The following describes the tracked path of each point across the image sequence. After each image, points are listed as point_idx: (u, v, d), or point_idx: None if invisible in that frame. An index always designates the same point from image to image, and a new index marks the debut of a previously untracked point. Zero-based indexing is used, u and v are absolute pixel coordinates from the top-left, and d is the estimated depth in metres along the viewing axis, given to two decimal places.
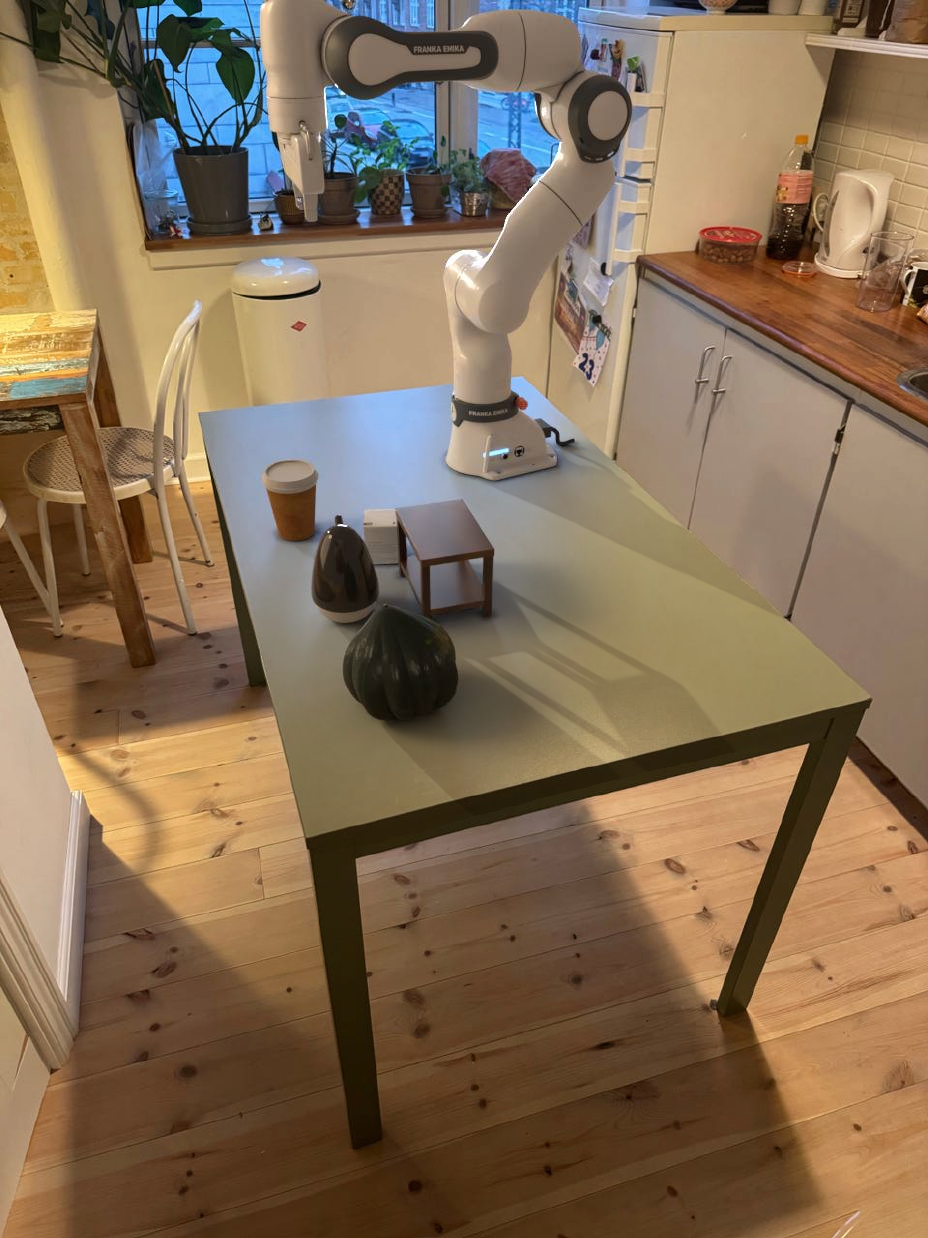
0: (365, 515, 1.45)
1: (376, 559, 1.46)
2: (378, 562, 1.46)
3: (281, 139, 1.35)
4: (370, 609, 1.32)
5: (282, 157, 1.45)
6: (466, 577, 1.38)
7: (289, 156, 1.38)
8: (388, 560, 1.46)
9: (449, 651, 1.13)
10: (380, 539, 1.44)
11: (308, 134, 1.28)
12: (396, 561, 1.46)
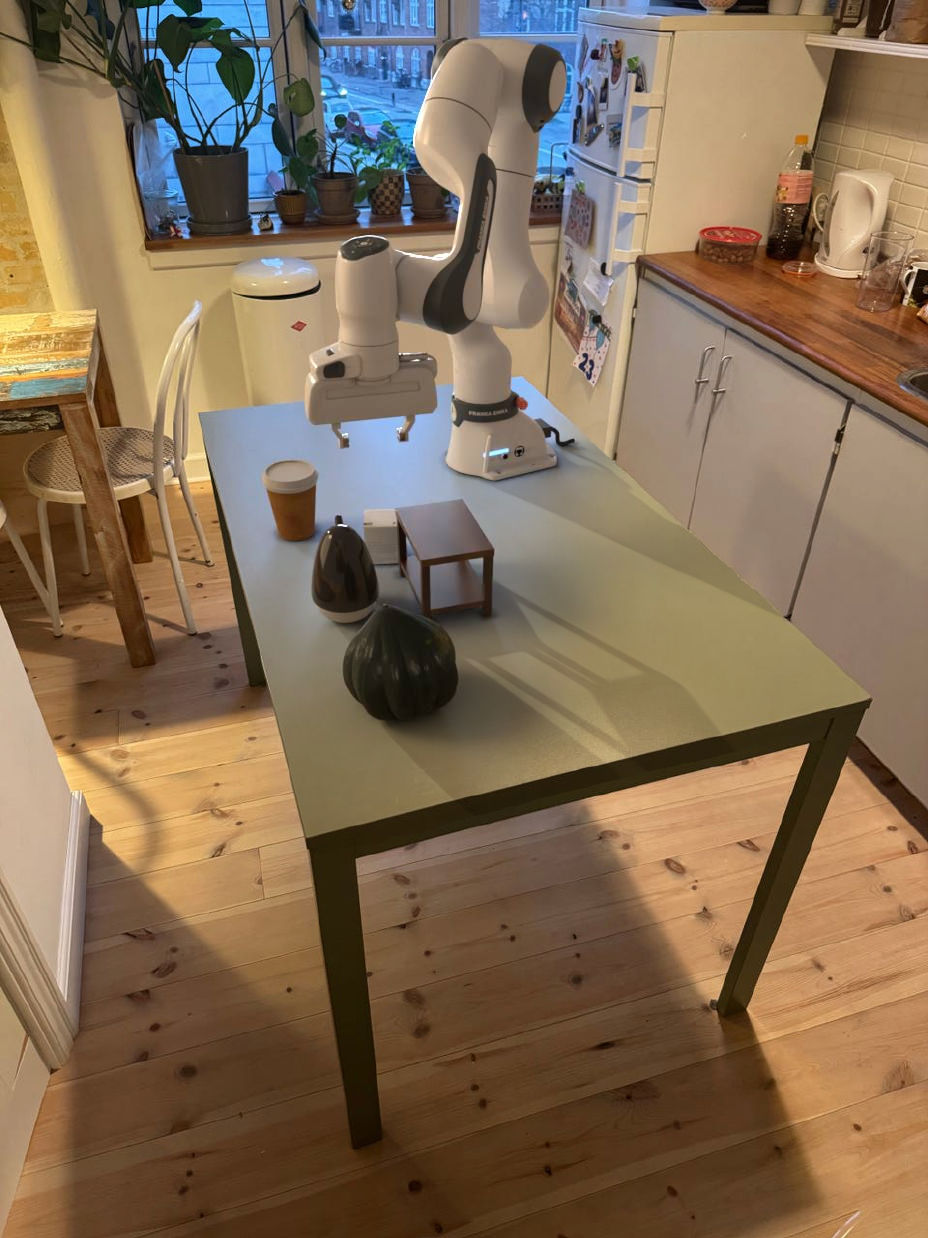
0: (365, 515, 1.45)
1: (376, 559, 1.46)
2: (378, 562, 1.46)
3: (381, 381, 1.30)
4: (370, 609, 1.32)
5: (316, 410, 1.30)
6: (466, 577, 1.38)
7: (368, 396, 1.32)
8: (388, 560, 1.46)
9: (449, 651, 1.13)
10: (380, 539, 1.44)
11: None
12: (396, 561, 1.46)
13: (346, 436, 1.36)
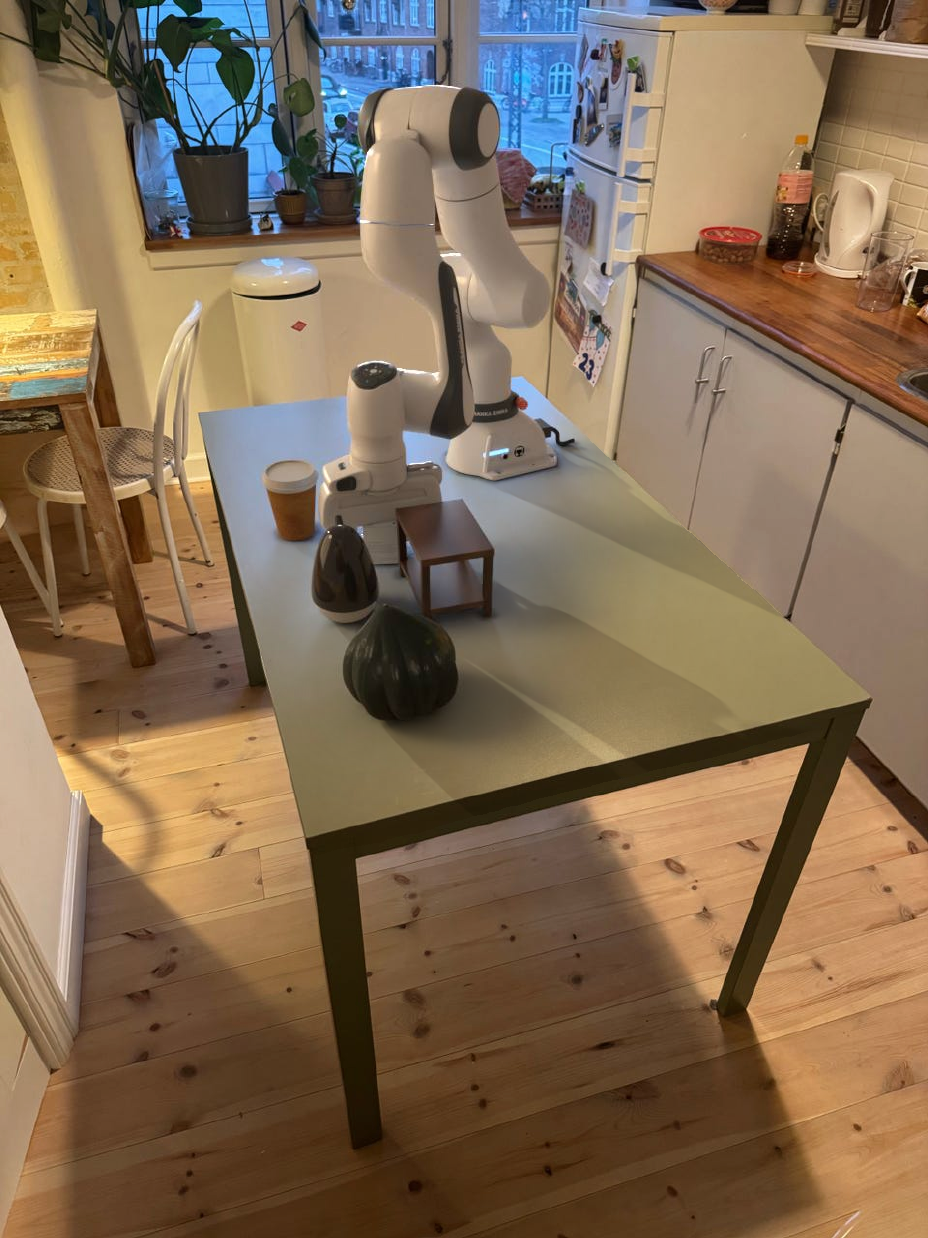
0: None
1: (376, 559, 1.46)
2: (378, 562, 1.46)
3: (390, 491, 1.39)
4: (370, 609, 1.32)
5: (330, 518, 1.40)
6: (466, 577, 1.38)
7: (378, 504, 1.41)
8: (388, 560, 1.46)
9: (449, 651, 1.13)
10: (380, 539, 1.44)
11: (439, 466, 1.42)
12: (396, 561, 1.46)
13: (362, 537, 1.46)
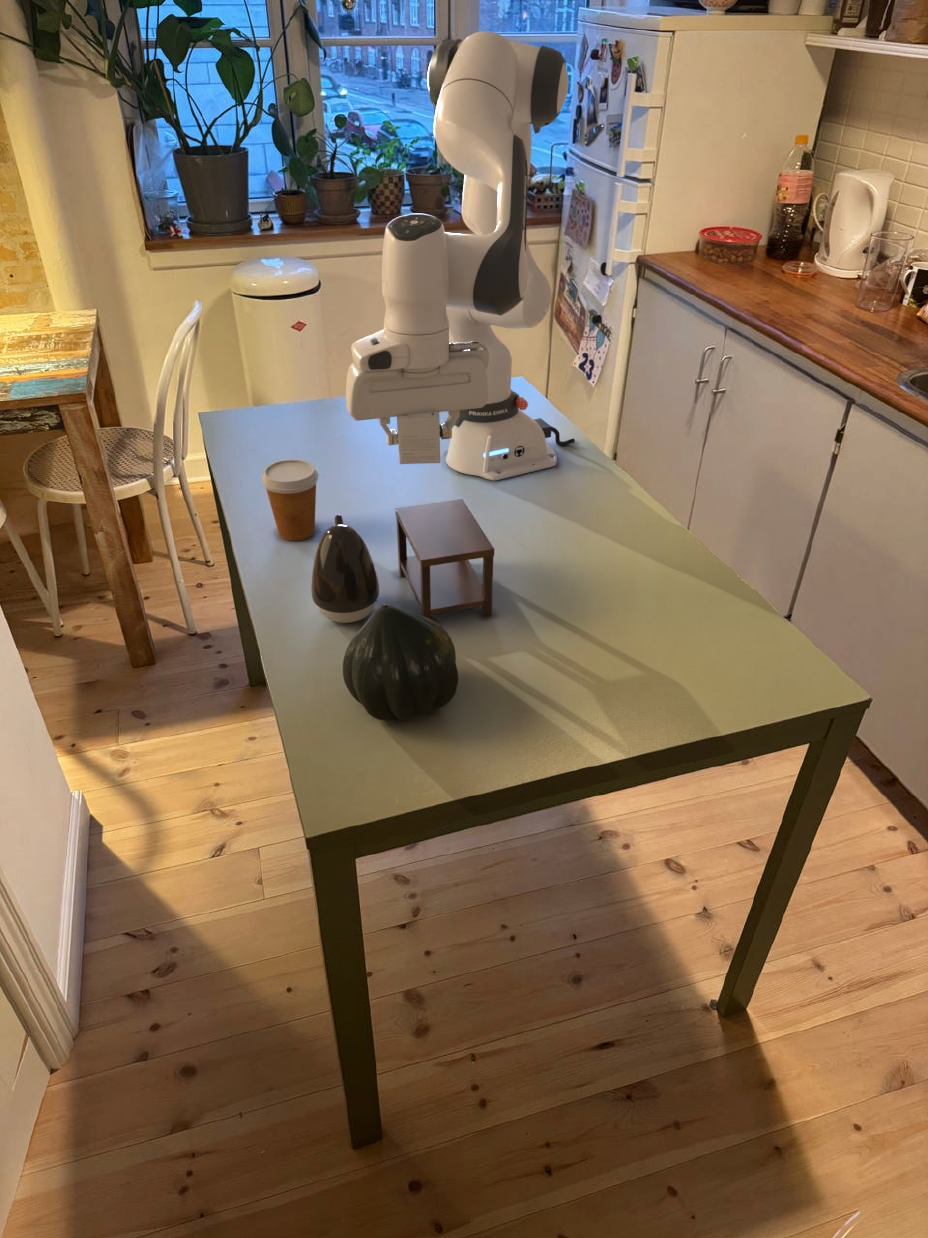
0: None
1: (411, 457, 1.27)
2: (413, 461, 1.27)
3: (429, 372, 1.20)
4: (370, 609, 1.32)
5: (359, 404, 1.21)
6: (466, 577, 1.38)
7: (415, 389, 1.22)
8: (425, 459, 1.27)
9: (449, 651, 1.13)
10: (416, 433, 1.24)
11: (486, 348, 1.23)
12: (434, 460, 1.27)
13: (395, 432, 1.26)
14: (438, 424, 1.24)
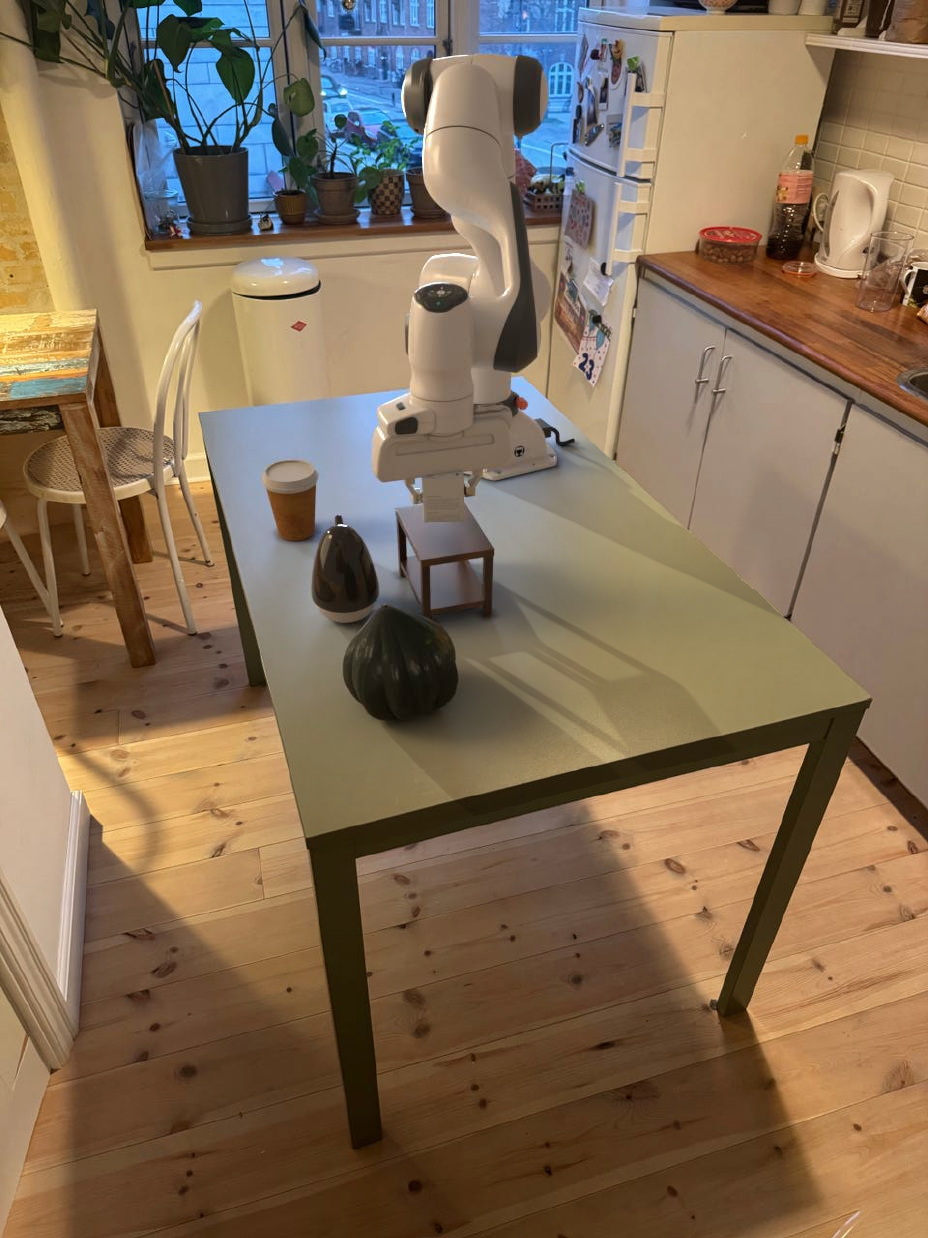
0: None
1: (435, 516, 1.28)
2: (437, 520, 1.28)
3: (455, 436, 1.21)
4: (370, 609, 1.32)
5: (385, 467, 1.22)
6: (466, 577, 1.38)
7: (440, 451, 1.23)
8: (449, 517, 1.28)
9: (449, 651, 1.13)
10: (441, 493, 1.26)
11: (510, 409, 1.25)
12: (458, 519, 1.29)
13: (419, 491, 1.28)
14: (463, 484, 1.25)
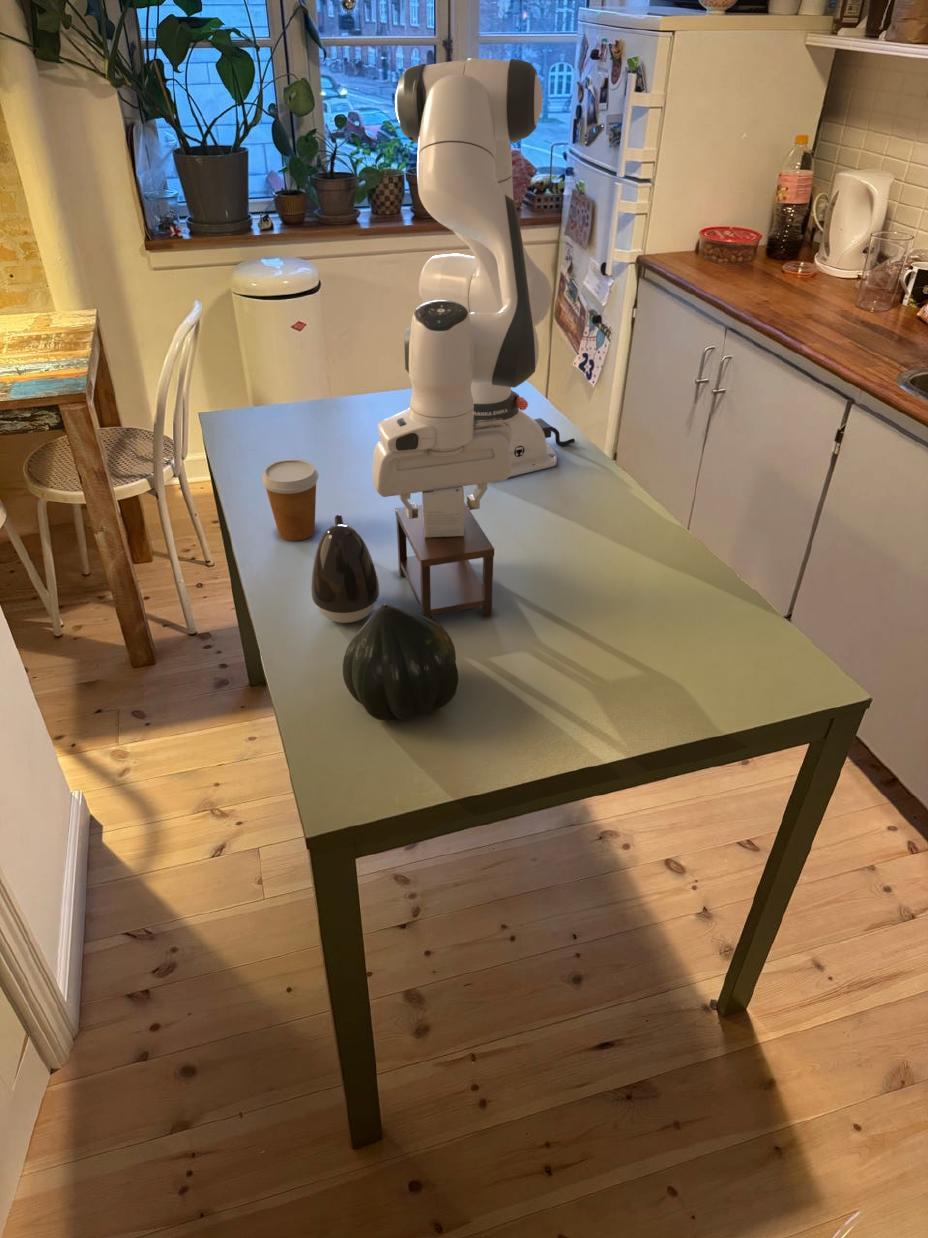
0: None
1: (436, 531, 1.30)
2: (438, 535, 1.30)
3: (455, 451, 1.23)
4: (370, 609, 1.32)
5: (386, 482, 1.23)
6: (466, 577, 1.38)
7: (440, 466, 1.25)
8: (449, 532, 1.30)
9: (449, 651, 1.13)
10: (441, 509, 1.27)
11: (509, 424, 1.26)
12: (458, 534, 1.30)
13: (415, 506, 1.29)
14: (462, 500, 1.27)
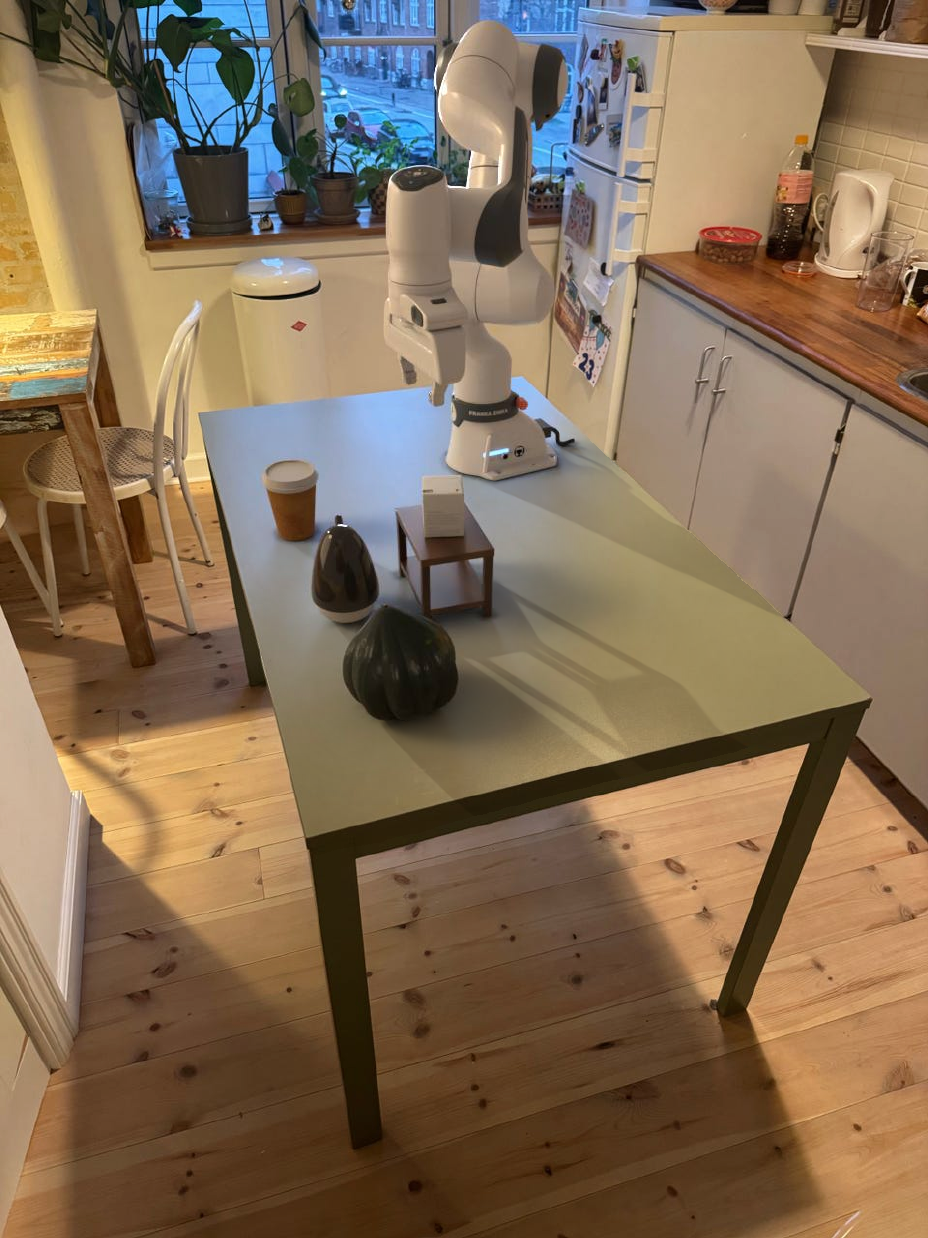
0: (424, 482, 1.29)
1: (436, 531, 1.30)
2: (438, 535, 1.30)
3: None
4: (370, 609, 1.32)
5: None
6: (466, 577, 1.38)
7: None
8: (449, 532, 1.30)
9: (449, 651, 1.13)
10: (441, 509, 1.27)
11: None
12: (458, 534, 1.30)
13: None
14: (462, 500, 1.27)
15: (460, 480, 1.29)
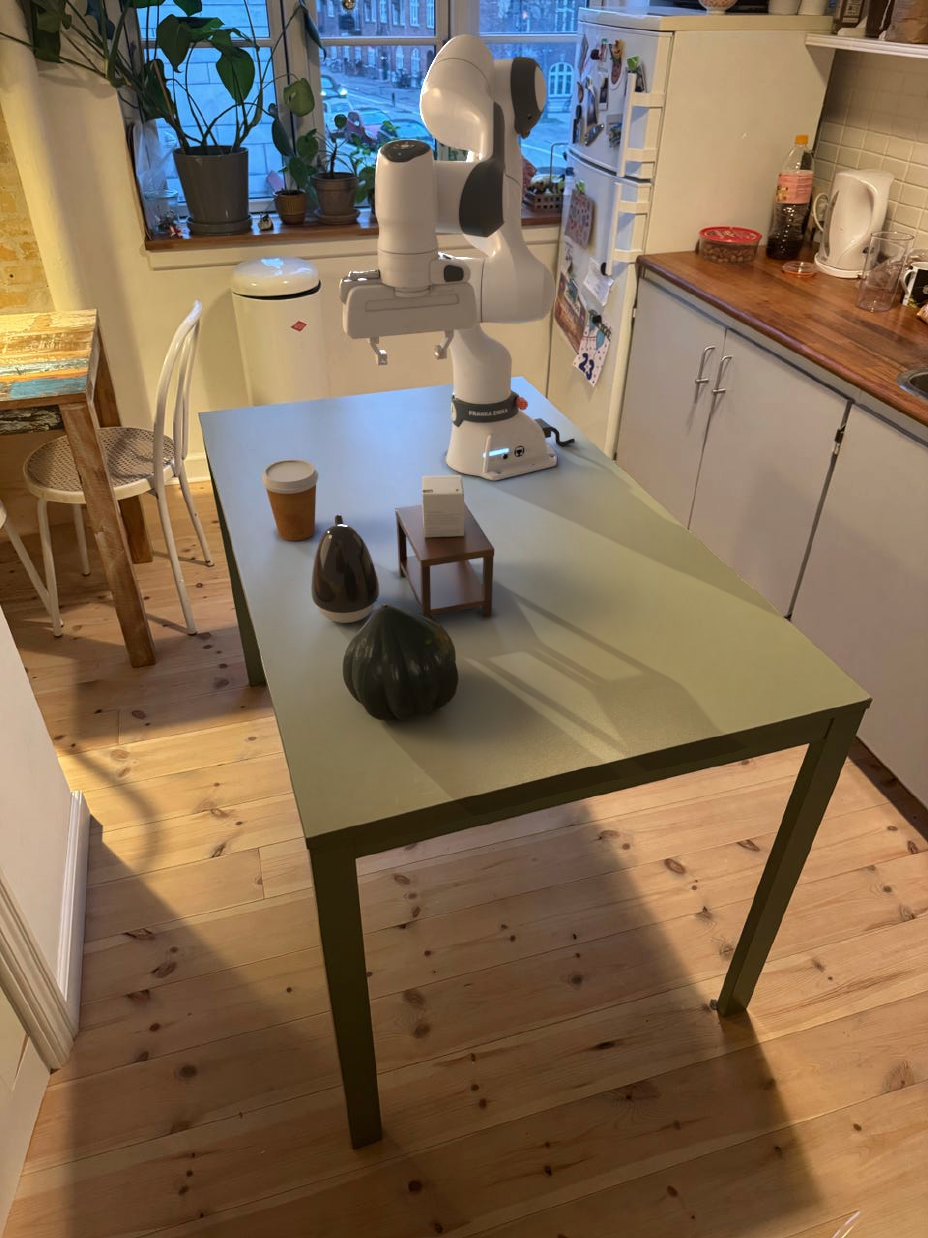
0: (424, 482, 1.29)
1: (436, 531, 1.30)
2: (438, 535, 1.30)
3: None
4: (370, 609, 1.32)
5: None
6: (466, 577, 1.38)
7: None
8: (449, 532, 1.30)
9: (449, 651, 1.13)
10: (441, 509, 1.27)
11: (341, 280, 1.26)
12: (458, 534, 1.30)
13: (437, 346, 1.36)
14: (462, 500, 1.27)
15: (460, 480, 1.29)
